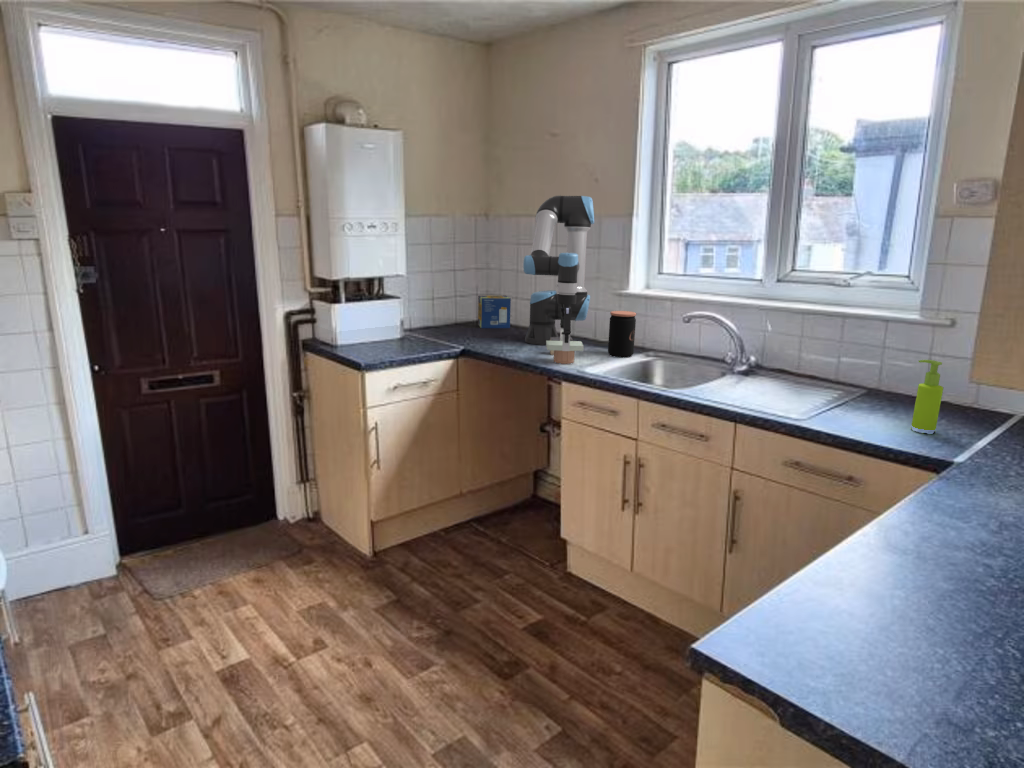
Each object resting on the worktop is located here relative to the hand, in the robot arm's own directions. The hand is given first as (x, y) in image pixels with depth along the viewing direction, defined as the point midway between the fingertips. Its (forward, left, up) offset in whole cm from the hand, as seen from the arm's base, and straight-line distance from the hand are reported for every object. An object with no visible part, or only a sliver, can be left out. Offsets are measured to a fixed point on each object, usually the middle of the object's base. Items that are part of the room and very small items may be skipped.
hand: (564, 347), depth 264 cm
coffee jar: (-16, +25, -6) cm, 30 cm away
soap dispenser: (+81, +94, -6) cm, 124 cm away
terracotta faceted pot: (0, 0, -6) cm, 6 cm away
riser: (-16, 0, -6) cm, 17 cm away
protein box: (-83, -30, -6) cm, 88 cm away
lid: (0, 0, 0) cm, 0 cm away
